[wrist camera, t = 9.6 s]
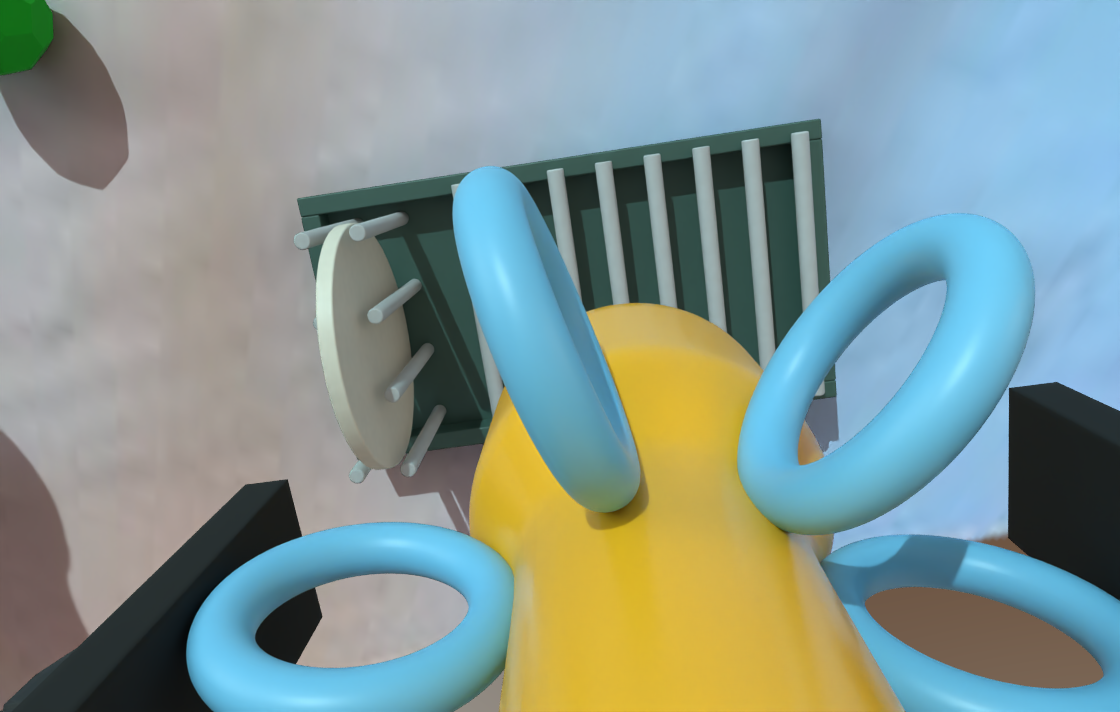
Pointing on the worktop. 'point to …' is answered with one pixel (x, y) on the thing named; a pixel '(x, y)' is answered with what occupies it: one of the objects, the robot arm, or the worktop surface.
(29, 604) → the worktop surface
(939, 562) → the cylinder
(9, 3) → the polyhedron
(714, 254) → the dish rack
